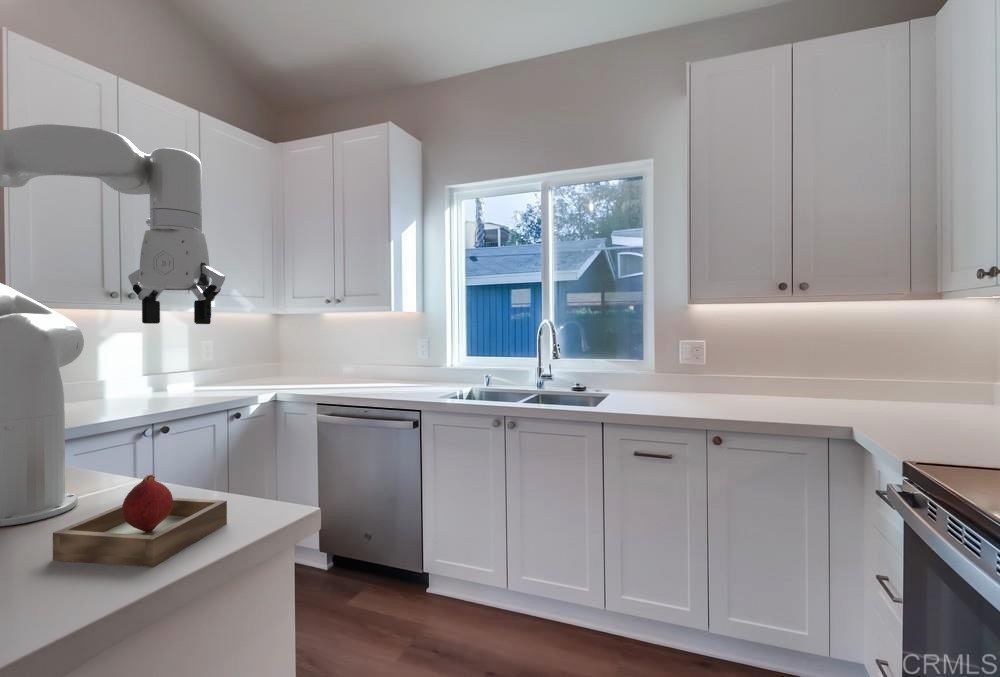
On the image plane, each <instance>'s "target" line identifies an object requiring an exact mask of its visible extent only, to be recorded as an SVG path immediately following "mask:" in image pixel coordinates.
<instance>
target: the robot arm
mask: <svg viewBox="0 0 1000 677" xmlns="http://www.w3.org/2000/svg"><path fill="white" fill-rule="evenodd" d="M43 176H44V177H46V176H65V177H67V176H69V177H84V178H93V179H95V178H96V179H99V180H100V181H102V182H103V183H104V184H106V186H108V187H109V188H111V189H112V190H114V191H117V192H118V193H121V194H125V195H130V196H131V195H136V196H137V195H141V196H142V195H149V217H148V218H146V219H145V223H146V225H147V226H149V230H147V229H146V230H145V232H144V235H143V239H142V243H141V248H140V249H141V250H140V256H139V258H140V259H139V269H137V270H135V271H133V272H132V273H129V275H128V280H129V282H130V284H131V286H132V290H133V292H134V293H135V294H136V295H137V298H138V300H139V301H141V322H142V324H146V325H147V324H153V325H154V324H159V323H160V322H161V302H160V300H157V299H158V298H160V295H161V294H162V293H163V291H191V292H192V293H193V295H195V297H196V298H197V300H196V299H195V300H194V303H193V306H194V307H193V317H194V319H193V322H194V324H195V325H210V324H211V322H212V302H214V301H215V299H216V297H217V295H218V294H219V293H220V292H221V290H222V286H223V285H224V283H225V281H226V276H225V275H224V274H222V273H220V272H219V271H217V270H215V269H213V268H212V267H210V259H209V257H210V255H209V248H208V245H207V239H206V235H205V234H204V233H202V229H203V227H202V224H203V223H202V216H203V215H202V214H203V212H202V207H203V206H202V163H201V160H200V158H199V157H198V156H196V155H195V154H193V153H191V152H189V151H186V150H183V149H177V148H171V147H158V148H156V149H154V150H152V151H151V152H150V154H147V153H144V152H142V151H140V150H139V149H138V148H137V147H136V145H135V144H133V143H132V142H131V141H130V140H129V139H128V138H126V137H125V136H123V135H121V134H119V133H116V132H114V131H111V130H106V129H102V128H97V127H96V128H94V127H89V126H88V127H86V126H75V125H67V124H66V125H64V124H52V123H51V124H48V123H46V124H34V125H29V126H28V125H26V126H20V127H14V128H11V129H10V128H9V129H0V188H1V187H2V188H12V189H13V188H22V187H24V186H26V185H27V183H28V182H29V181H30V180H32V179H34V178H37V177H43ZM210 281H211V283H210ZM84 345H85V340H84V336H83V333H82V331H81V329H80V328H79V326H77V325H76V324H75V323H74V322H73V321H72V320H70V319H69V318H67V317H65V316H64V315H62V314H60V313H58V312H56V311H55V310H53V309H51V308H49V307H47V306H46V305H43V304H42V303H40V302H38V301H36V300H34V299H33V298H30V297H29V296H26V295H24V294H22V293H21V292H19V291H18V290H15V288H14V289H13V288H12V287H10V286H8V285H5V284H3V283H1V282H0V527H6V526H14V525H21V524H22V525H23V524H26V523H32V522H35V521H36V522H37V521H40V520H45V519H48V518H51V517H55V516H58V515H60V514H64V513H65V512H67V511H69V510H72V509H73V508H75V507H76V506H77V505H78V503H79V500H78V498H79V497H78V495H76V494H75V493H72V492H66V436H65V435H66V434H65V433H66V430H65V429H66V427H65V426H66V424H65V423H66V419H65V416H66V413H65V412H66V411H65V393H64V385H63V380H62V375H61V371H60V368H62V367H65V366H68V365H69V364H71V363H73V362H74V361H75V360H77V358H79V356H81V354H82V352H83V349H84V347H85V346H84Z"/></svg>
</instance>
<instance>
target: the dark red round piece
mask: <svg viewBox="0 0 1000 677" xmlns="http://www.w3.org/2000/svg"><path fill="white" fill-rule="evenodd" d="M155 478H156V476H155V475H154V474H153V473H150V474H147V475H146V476H144V478H143V479H142V481H141V482H139V483H138V484H136V485H135V486H133V488H132V489H131V490H130V491H129V492H128V493H127V495H126V496H125V498H124V500H123V502H122V504H123V505H122V504H121V505H122V515H123V518H124V519H125V521H126V522H127V523H128V524H129V525H131V526H132V527H134V528H136V529H139V530H142V531H145V532H150V531H152V530H154V529H155V527H156V526H157V525H158V524H160V523H161V522H162V521H163V520H164V519H165V518H166V517H167V516H168V515H169V514H170V512H171V510H172V506H173V498H174V497H173V495H172V493H171V491H170V489H169V488H168V487H167V486H166V485H165V484H164V483H161V482H159V481H157V480H155Z"/></svg>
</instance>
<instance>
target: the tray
mask: <svg viewBox="0 0 1000 677" xmlns="http://www.w3.org/2000/svg"><path fill="white" fill-rule="evenodd" d="M172 498H173V506H172V510H171V512H170V514H169V515H168V516H167V517H166V518H165V519H164V520H163V521H162V522H161V523H160V524H158V525H157V526H156V527H155V529H154V530H152V531H150V532H145V531H142V530H139V529H136V528H134V527H132V526H131V525H129V524H128V523H127V522H126V521H125V519H124V518H123V515H122V505H123V503H122V504H120V505H118V506H116V507H113V508H110V509H108V510H105V511H103V512H100V513H98V514H95V515H93V516H90V517H88V518H86V519H83V520H81V521H79V522H76V523H73V524H71V525H69V526H66V527H64V528H62V529H59V530H58V529H57V530H56V531H54V532H52V561H63V562H75V563H76V562H79V563H87V564H88V563H90V564H102V565H103V564H105V565H118V566H119V565H120V566H132V567H133V566H134V567H146V568H154V567H156V566H158V565H159V564H161V563H163V562H165V561H166V560H168V559H170V558H171V557H173V556H175V555H176V554H178V553H179V552H181V551H183V550H184V549H187V548H188V547H189V546H191V545H193V544H194V543H197V542H198V541H200V540H201V539H203V538H205V537H206V536H208V535H210V534H212V533H213V532H216V531H217V530H219V529H221V528H222V527H223V526H225V525H227V524H228V501H227V500H222V499H221V500H219V499H206V498H205V499H204V498H203V499H202V498H184V497H172Z"/></svg>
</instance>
